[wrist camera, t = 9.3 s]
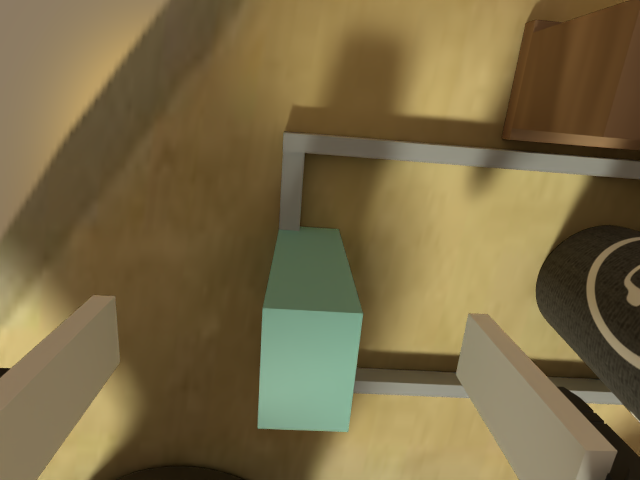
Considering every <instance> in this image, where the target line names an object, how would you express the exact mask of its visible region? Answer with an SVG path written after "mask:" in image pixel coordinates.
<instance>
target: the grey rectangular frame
mask: <svg viewBox="0 0 640 480" xmlns="http://www.w3.org/2000/svg"><path fill="white" fill-rule="evenodd" d="M305 153H312V154H325V155H338V156H350V157H363V158H376V159H389V160H401V161H414V162H427V163H440V164H452V165H465V166H478V167H490V168H503V169H516V170H529V171H541V172H554V173H567V174H580V175H592V176H605V177H618V178H631V179H640V160H629V159H617V158H605V157H592V156H580V155H568V154H556V153H543V152H531V151H519V150H507V149H494V148H482V147H470V146H457V145H445V144H433V143H421V142H408V141H396V140H384V139H371V138H359V137H347V136H335V135H322V134H310V133H298V132H286V131H285V132H284V135H283V161H282V180H281V200H280V219H279V232H278V236H277V241H276V246H275V251H274V256H273V261H272V265H271V270H270V275H269V280H268V285H267V289H266V294H265V299H264V304H263V311H262V334H261V358H260V382H259V406H258V429H283V430H310V431H337V432H348V430H349V422H350V414H351V406H352V398H353V393H362V394H385V395H409V396H432V397H455V398H469V396H468V394H467V393H466V391H465V389H464V388H463V386H462V384H461V383H460V381H459V379H458V378H457V376H456V372H436V371H415V370H393V369H372V368H356V366H357V358H358V351H359V343H360V335H361V327H362V319H363V311H362V308H361V304H360V301H359V297H358V294H357V291H356V287H355V284H354V280H353V277H352V273H351V270H350V266H349V263H348V259H347V256H346V253H345V249H344V246H343V242H342V239H341V235H340V232H339V229H330V228H316V227H301V226H300V215H301V201H302V186H303V171H304V157H305ZM548 378H549V379H550V380H551V382H552V383H553V384H554V385H555V386H556V387H565V388H566V389H568V390H569V391H571V392H572V393H574V394H575V395H577V396H578V397H580V398H581V399H582V400H583V401H584V402H585V403H595V404H618V405H623V404H622V403H621V402H620V401H619V399H618V398H617V397H616V396H615V395H614V394H613V393H612V392H611V391H610V390H609V389H608V387H607V386H606V385H605V384H604V383H603V382H602V381H601V380H600V379H586V378H564V377H548Z"/></svg>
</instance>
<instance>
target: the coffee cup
mask: <svg viewBox="0 0 640 480" xmlns="http://www.w3.org/2000/svg"><path fill="white" fill-rule="evenodd" d="M536 300H537V304H538V307H539V310H540V312H541V314H542V315H543V317H544V318H545V319H546V321H547V322H548V323H549V324H550V325H551V326H552V327H553V328H554V329H555V331H556V332H557V333H558V334H559V335H560V336H561V337H562V338H563V339H564V340H565V341H566V343H567V344H568V345H569V346H570V347H571V348H572V349H573V350H574V351H575V352H576V353H577V355H578V356H579V357H580V358H581V359H582V360H583V361H584V362H585V363H586V364H587V365H588V367H589V368H590V369H591V370H592V371H593V372H594V373H595V374H596V375H597V376H598V378H599V379H600V380H601V381H602V382H603V383H604V384H605V385H606V386H607V387H608V389H609V390H610V391H611V392H612V393H613V394H614V395H615V396H616V397H617V398H618V399H619V401H620V402H621V403H622V404H623V405H624V406H625V407H626V408H627V409H628V410H629V412H630V413H631V414H632V415H633V416H634V417H635V418H636V419H637V420H638V421H639V423H640V232H639V231H635V230H632V229H628V228H624V227H619V226H597V227H592V228H589V229H586V230H583V231H581V232H578V233H576V234H574V235H573V236H571V237H569V238H568V239H566V240H565V241H564V242H562V243H561V244H560V245H559V246H558V247H557V248H556V249H555V250H554V251H553V252H552V253H551V254H550V255H549V257H548V258H547V260H546V261H545V263H544V265H543V266H542V268H541V271H540V273H539V276H538V280H537V285H536Z"/></svg>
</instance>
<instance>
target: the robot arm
mask: <svg viewBox="0 0 640 480" xmlns="http://www.w3.org/2000/svg"><path fill="white" fill-rule="evenodd" d="M119 363H120V353H119V339H118V326H117V312H116V299H115V296H103V295H93V296H92V297H90V298H89V299H88V300H87V301H86V302H85V303H84V304H83V305H81V306H80V307H79V308H78V309H77V310H76V311H75V312H74V313H72V314H71V315H70V316H69V317H68V318H67V319H66V320H65V321H63V322H62V323H61V324H60V325H59V326H58V327H57V328H56V329H54V330H53V331H52V332H51V333H50V334H49V335H48V336H47V337H46V338H44V339H43V340H42V341H41V342H40V343H39V344H38V345H37V346H35V347H34V348H33V349H32V350H31V351H30V352H29V353H28V354H26V355H25V356H24V357H23V358H22V359H21V360H20V361H19V362H17V363H16V364H15V365H14V366H13V367H12V368H0V480H37V479H38V477H39V476H40V475H41V473H42V472H43V470H44V469H45V467H46V466H47V465H48V463H49V462H50V460H51V459H52V458H53V456H54V455H55V453H56V452H57V451H58V449H59V448H60V446H61V445H62V444H63V442H64V441H65V439H66V438H67V437H68V435H69V434H70V432H71V431H72V430H73V428H74V427H75V425H76V424H77V422H78V421H79V420H80V418H81V417H82V415H83V414H84V413H85V411H86V410H87V408H88V407H89V406H90V404H91V403H92V401H93V400H94V399H95V397H96V396H97V394H98V393H99V392H100V390H101V389H102V387H103V386H104V384H105V383H106V382H107V380H108V379H109V377H110V376H111V375H112V373H113V372H114V370H115V369H116V368H117V366H118V365H119ZM456 376H457V378H458V379H459V381H460V383H461V384H462V386H463V388H464V389H465V391H466V393H467V394H468V396H469V398H470V399H471V401H472V402H473V404H474V406H475V407H476V409H477V411H478V412H479V414H480V416H481V417H482V419H483V421H484V422H485V424H486V426H487V427H488V429H489V431H490V432H491V434H492V435H493V437H494V439H495V440H496V442H497V444H498V445H499V447H500V449H501V450H502V452H503V454H504V455H505V457H506V459H507V460H508V462H509V464H510V465H511V467H512V469H513V470H514V472H515V473H516V475H517V477H518V478H519V480H640V457H639V456H638V455H637V454H636V453H635V452H634V451H633V450H632V449H631V448H630V447H629V446H628V445H627V444H626V443H625V442H624V441H623V440H622V439H621V438H620V437H619V436H618V435H617V434H616V433H615V432H614V431H613V430H612V429H611V428H610V427H609V426H608V425H607V424H604V421H603V420H602V419H601V418H600V417H599V416H598V415H597V414H596V413H594V412H593V410H592V409H591V408H590V407H589V406H588V405H587V404H586V403H585V402H584V401H583V400H582V399H581V398H580V397H578V396H577V395H575V394H574V393H572V392H571V391H569V390H568V389H566V388H565V387H556V386H555V385H554V384H553V383H552V382H551V380H550V379H549V378H548V377H547V376H546V375H545V374H544V373H543V372H542V371H541V370H540V369H539V368H538V367H537V366H536V365H535V364H534V363H533V361H532V360H531V359H530V358H529V357H528V356H527V355H526V354H525V353H524V352H523V351H522V350H521V349H520V348H519V347H518V346H517V345H516V344H515V342H514V341H513V340H512V339H511V338H510V337H509V336H508V335H507V334H506V333H505V332H504V331H503V330H502V329H501V328H500V327H499V326H498V325H497V323H496V322H495V321H494V320H493V319H492V318H491V317H490V316H489V315H488V314H471V313H469V314H468V318H467V323H466V328H465V333H464V338H463V342H462V347H461V352H460V357H459V362H458V366H457V371H456ZM117 480H242V479H240V478H238V477H235V476H232V475H230V474H226V473H223V472H220V471H215V470H211V469H205V468H198V467H187V466H171V467H159V468H152V469H147V470H142V471H138V472H135V473H132V474H129V475H126V476H123V477H121V478H119V479H117Z"/></svg>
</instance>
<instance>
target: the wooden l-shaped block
mask: <svg viewBox="0 0 640 480" xmlns="http://www.w3.org/2000/svg"><path fill="white" fill-rule="evenodd" d="M502 139H509V140H521V141H533V142H545V143H557V144H569V145H581V146H593V147H605V148H617V149H629V150H640V0H629V1H626V2H623V3H620V4H617V5H614V6H611V7H608V8H605V9H602V10H599V11H596V12H593V13H590V14H587V15H584V16H581V17H578V18H575V19H572V20H569V21H566V22H553V21H543V20H534V21H531V22H528V23H526V25H525V30H524V34H523V39H522V44H521V49H520V53H519V58H518V63H517V68H516V72H515V77H514V82H513V87H512V91H511V96H510V101H509V105H508V110H507V115H506V120H505V124H504V129H503V134H502Z"/></svg>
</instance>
